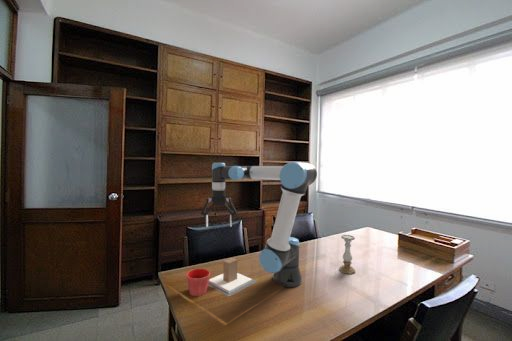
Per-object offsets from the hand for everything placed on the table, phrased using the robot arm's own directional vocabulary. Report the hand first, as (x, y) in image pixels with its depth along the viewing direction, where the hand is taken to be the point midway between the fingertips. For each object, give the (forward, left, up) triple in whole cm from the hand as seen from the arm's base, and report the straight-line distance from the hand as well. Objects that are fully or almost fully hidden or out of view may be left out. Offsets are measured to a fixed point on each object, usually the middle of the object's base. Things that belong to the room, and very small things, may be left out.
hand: (218, 226), depth 141 cm
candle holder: (-55, -51, -26) cm, 80 cm away
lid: (-16, +6, -25) cm, 30 cm away
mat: (-16, +6, -26) cm, 31 cm away
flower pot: (-12, +23, -26) cm, 36 cm away
